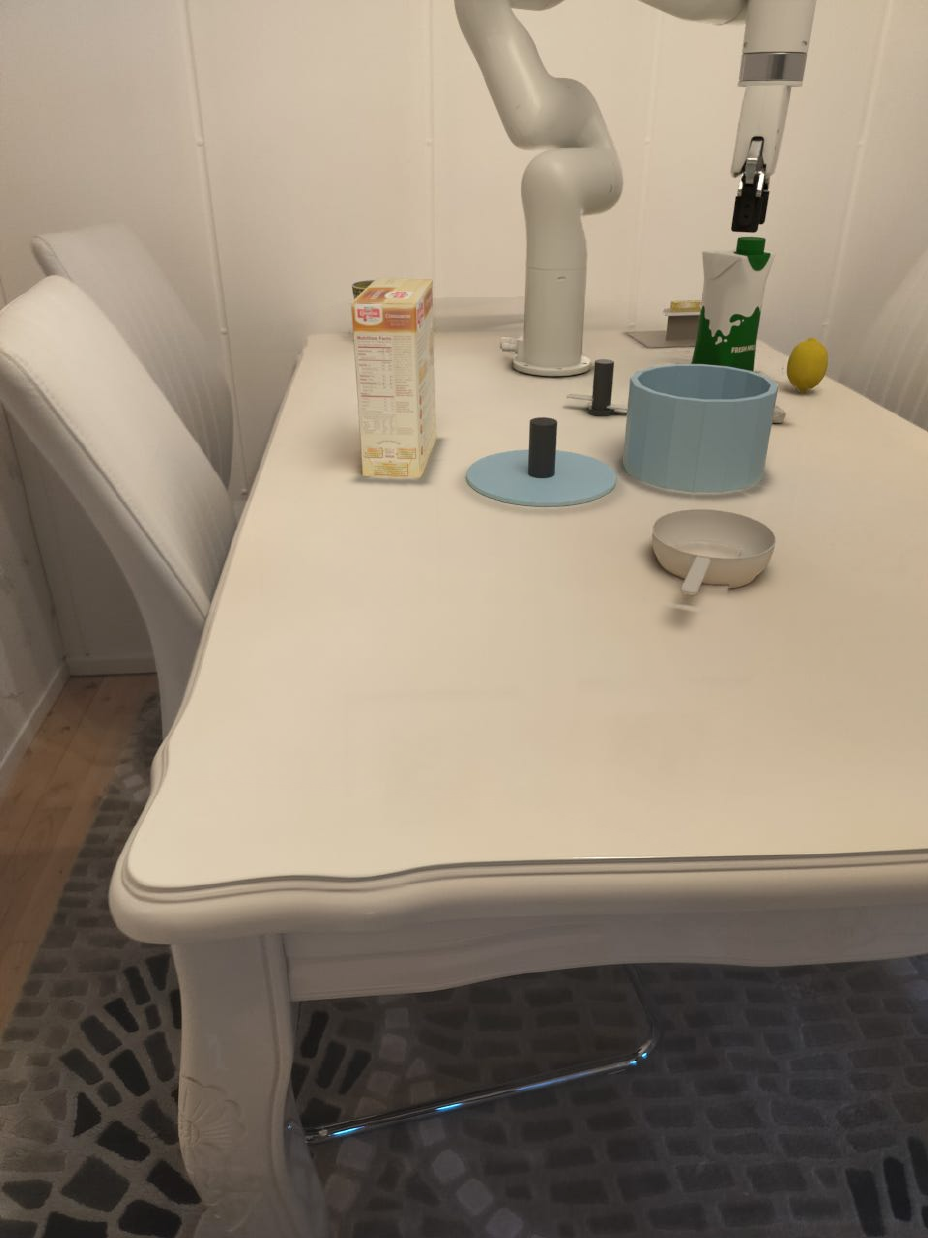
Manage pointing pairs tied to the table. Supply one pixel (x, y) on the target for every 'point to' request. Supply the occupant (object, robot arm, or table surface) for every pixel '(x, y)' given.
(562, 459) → the blue pot lid
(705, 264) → the milk carton
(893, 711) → the table surface
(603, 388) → the blade
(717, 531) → the saucepan
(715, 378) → the bowl
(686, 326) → the platform
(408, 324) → the coffeecake box
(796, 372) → the lemon
